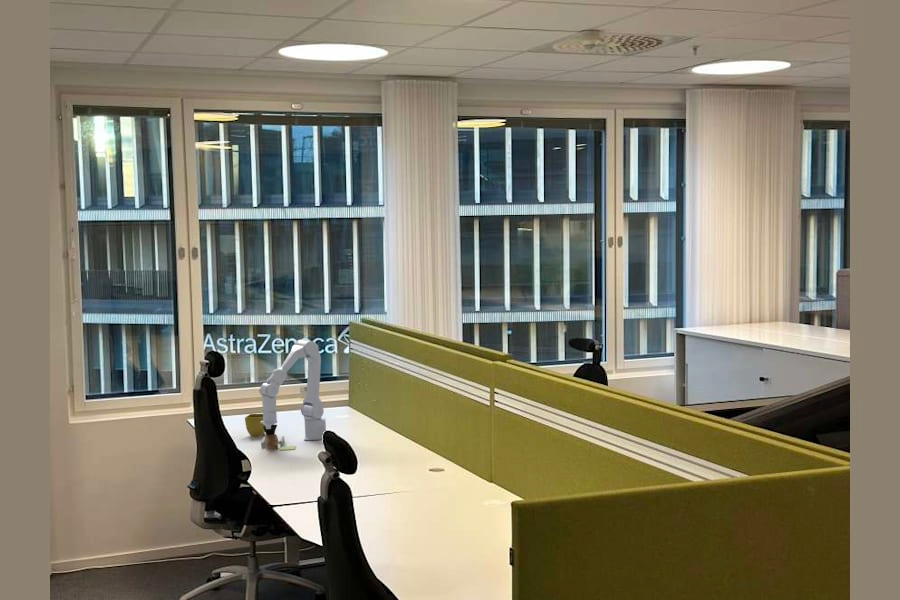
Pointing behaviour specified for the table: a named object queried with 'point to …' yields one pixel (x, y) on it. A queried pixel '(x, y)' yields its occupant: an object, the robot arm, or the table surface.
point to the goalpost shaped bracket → (278, 442)
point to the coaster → (287, 448)
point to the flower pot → (254, 424)
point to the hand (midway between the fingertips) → (270, 442)
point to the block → (271, 442)
